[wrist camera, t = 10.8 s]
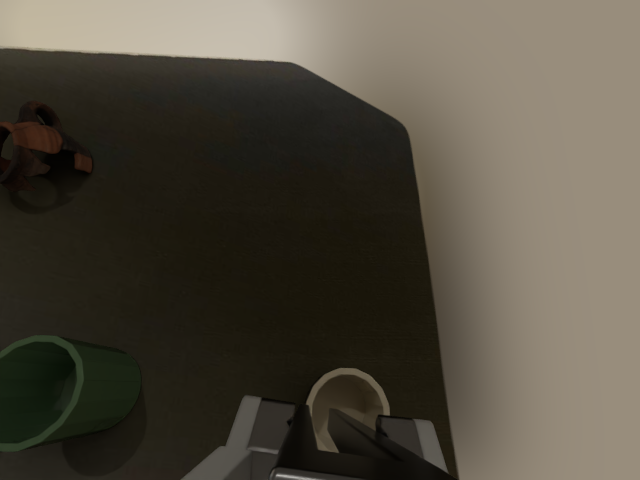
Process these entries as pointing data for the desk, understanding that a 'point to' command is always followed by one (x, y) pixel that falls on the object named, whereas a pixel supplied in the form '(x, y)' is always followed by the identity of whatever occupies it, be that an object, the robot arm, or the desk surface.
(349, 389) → the cream cup
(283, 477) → the grey piece
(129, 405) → the green cup
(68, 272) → the desk surface
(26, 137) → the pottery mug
